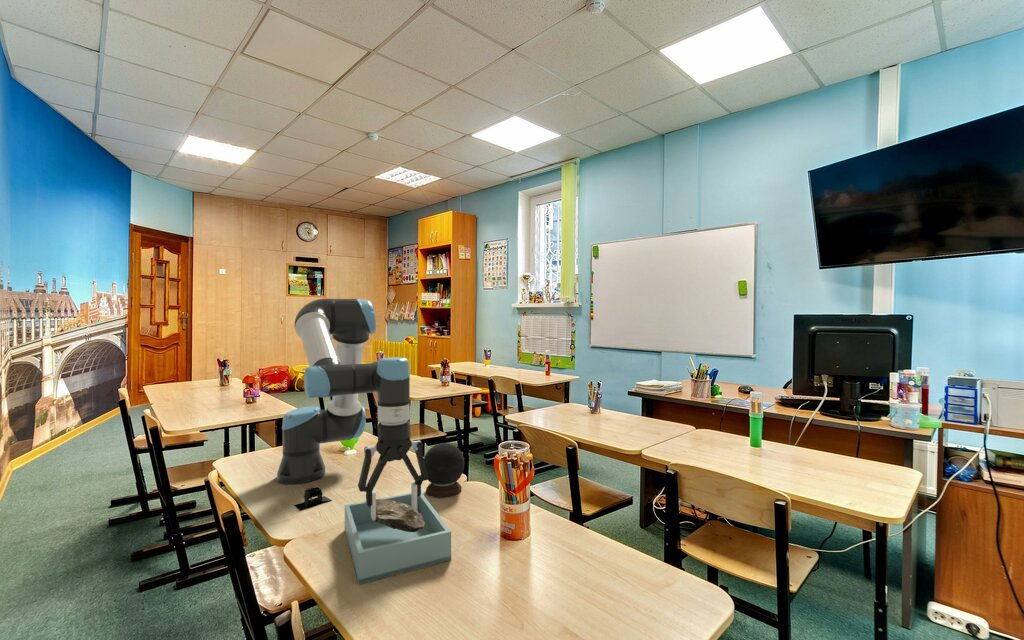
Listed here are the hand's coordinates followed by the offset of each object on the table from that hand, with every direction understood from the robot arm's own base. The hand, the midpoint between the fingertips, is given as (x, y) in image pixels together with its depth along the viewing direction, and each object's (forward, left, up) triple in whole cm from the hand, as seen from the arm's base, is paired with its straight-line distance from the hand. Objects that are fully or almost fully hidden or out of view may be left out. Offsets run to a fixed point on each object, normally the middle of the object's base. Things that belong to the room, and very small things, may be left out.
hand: (394, 513), depth 107 cm
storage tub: (0, 0, -7) cm, 7 cm away
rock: (-1, +1, -2) cm, 2 cm away
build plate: (-35, -16, -8) cm, 40 cm away
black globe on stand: (-26, +21, -8) cm, 34 cm away
